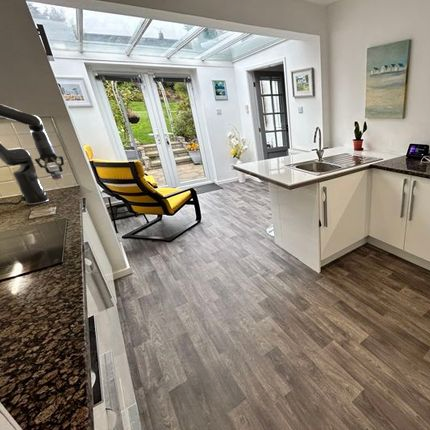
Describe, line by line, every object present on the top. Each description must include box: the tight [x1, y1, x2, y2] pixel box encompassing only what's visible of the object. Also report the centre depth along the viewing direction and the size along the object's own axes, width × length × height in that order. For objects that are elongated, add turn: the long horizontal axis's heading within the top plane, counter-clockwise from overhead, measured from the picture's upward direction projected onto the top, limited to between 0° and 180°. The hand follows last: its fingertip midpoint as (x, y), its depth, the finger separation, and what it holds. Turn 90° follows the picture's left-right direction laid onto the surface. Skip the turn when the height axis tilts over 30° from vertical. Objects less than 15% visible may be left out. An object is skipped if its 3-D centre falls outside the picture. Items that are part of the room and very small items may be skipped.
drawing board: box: [28, 206, 57, 221], centre depth 146 cm, size 16×10×1 cm, turn 42°
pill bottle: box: [48, 165, 64, 181], centre depth 178 cm, size 5×5×9 cm
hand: (55, 172), depth 178 cm, fingers closed on pill bottle, 5 cm apart
